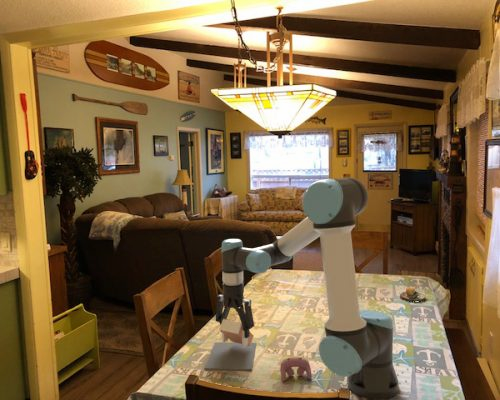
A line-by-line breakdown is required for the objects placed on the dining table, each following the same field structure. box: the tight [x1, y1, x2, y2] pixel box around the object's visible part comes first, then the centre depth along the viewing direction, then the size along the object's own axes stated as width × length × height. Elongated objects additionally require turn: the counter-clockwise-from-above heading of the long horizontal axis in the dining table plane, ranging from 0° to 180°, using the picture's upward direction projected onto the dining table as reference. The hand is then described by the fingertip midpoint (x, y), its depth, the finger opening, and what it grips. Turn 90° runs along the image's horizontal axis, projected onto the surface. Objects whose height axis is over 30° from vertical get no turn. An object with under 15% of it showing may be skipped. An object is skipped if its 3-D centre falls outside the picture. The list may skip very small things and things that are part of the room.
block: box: [218, 319, 254, 346], centre depth 153 cm, size 4×8×11 cm
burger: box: [399, 285, 427, 303], centre depth 206 cm, size 12×12×8 cm
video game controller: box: [279, 356, 312, 382], centre depth 135 cm, size 10×5×7 cm, turn 93°
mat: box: [204, 341, 257, 372], centre depth 151 cm, size 20×16×1 cm
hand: (235, 343), depth 152 cm, fingers closed on block, 8 cm apart
